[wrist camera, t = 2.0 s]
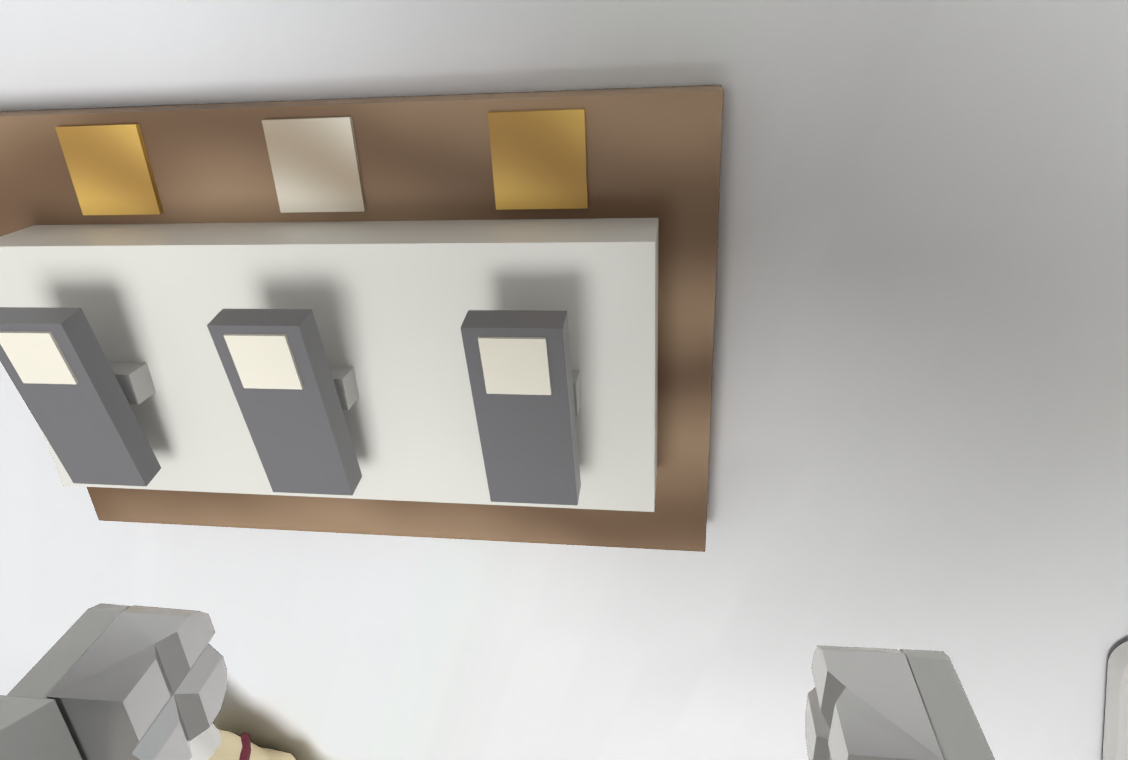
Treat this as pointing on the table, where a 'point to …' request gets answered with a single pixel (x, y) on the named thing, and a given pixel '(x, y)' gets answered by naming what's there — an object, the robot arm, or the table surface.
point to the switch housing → (362, 338)
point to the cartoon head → (231, 747)
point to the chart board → (415, 193)
